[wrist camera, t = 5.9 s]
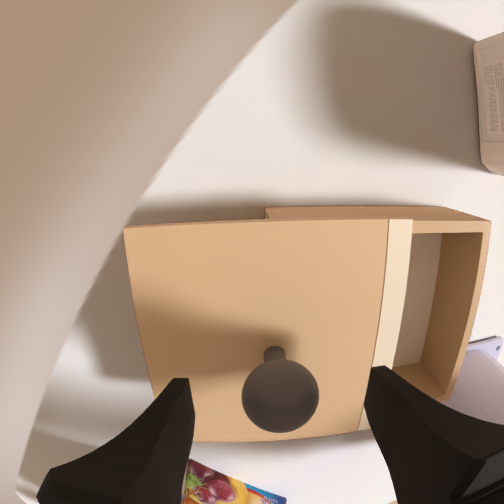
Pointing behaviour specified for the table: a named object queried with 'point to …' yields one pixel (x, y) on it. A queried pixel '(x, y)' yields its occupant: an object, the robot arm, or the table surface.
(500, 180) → the table surface
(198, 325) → the lid
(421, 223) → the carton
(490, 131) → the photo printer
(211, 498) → the juice carton
